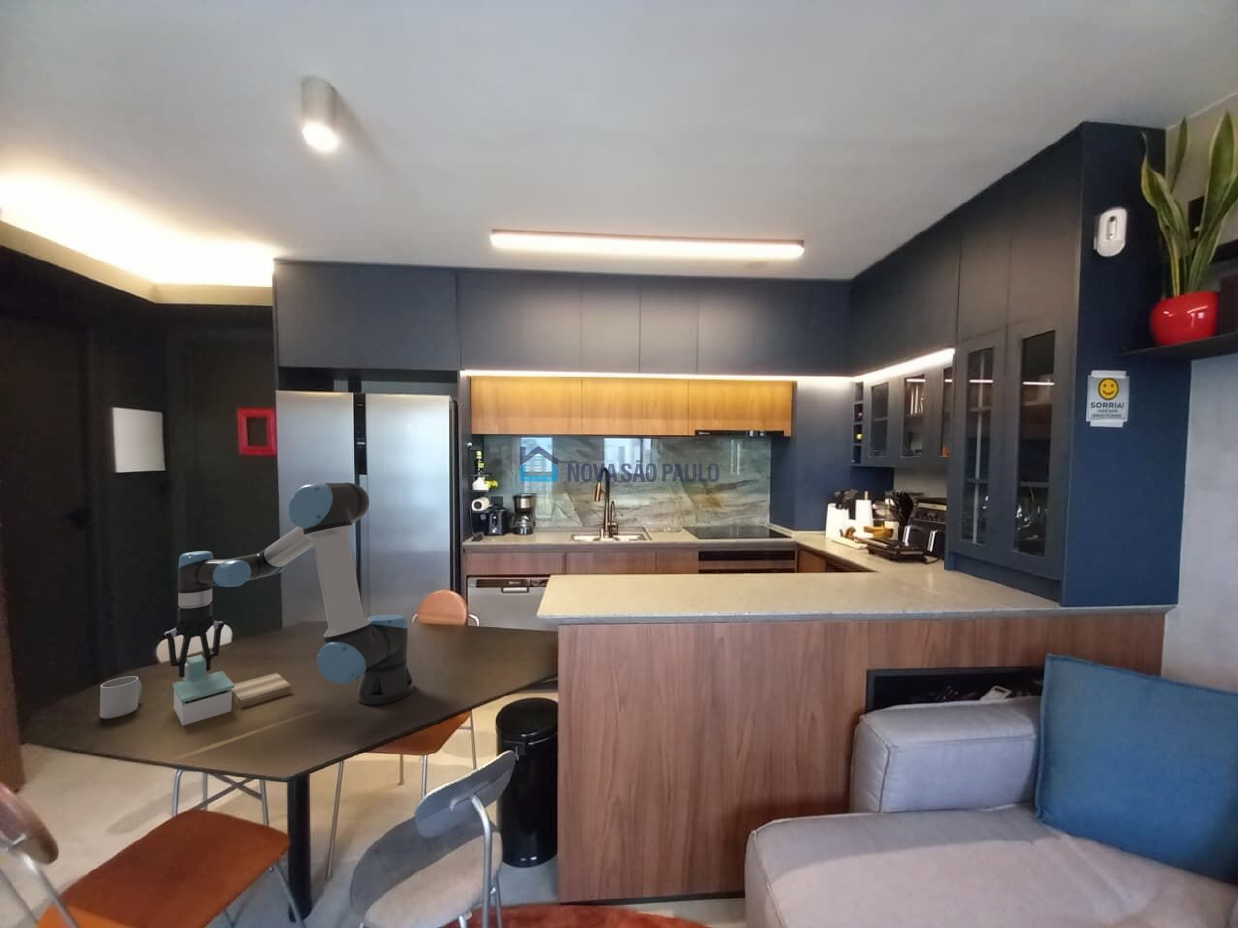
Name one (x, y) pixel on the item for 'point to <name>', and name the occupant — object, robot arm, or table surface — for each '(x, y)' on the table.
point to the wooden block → (260, 689)
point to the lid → (201, 681)
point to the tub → (202, 707)
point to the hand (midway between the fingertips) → (194, 684)
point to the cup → (119, 696)
